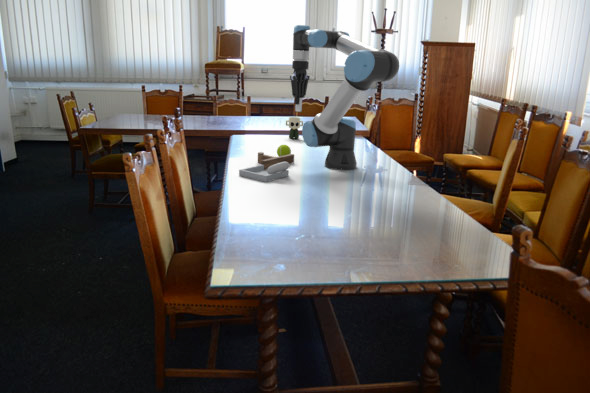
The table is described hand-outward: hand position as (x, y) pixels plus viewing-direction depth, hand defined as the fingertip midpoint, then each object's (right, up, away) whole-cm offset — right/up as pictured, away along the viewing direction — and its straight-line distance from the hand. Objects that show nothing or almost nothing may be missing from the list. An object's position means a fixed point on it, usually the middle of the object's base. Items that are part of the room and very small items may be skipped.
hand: (298, 111), depth 230 cm
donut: (-10, -29, -22) cm, 38 cm away
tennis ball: (-7, -22, +12) cm, 26 cm away
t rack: (-14, -25, -2) cm, 29 cm away
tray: (-15, -32, -25) cm, 43 cm away
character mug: (-2, -5, +70) cm, 71 cm away
